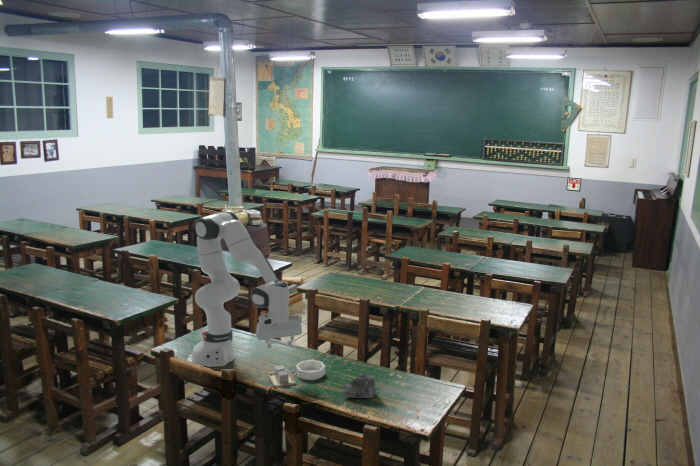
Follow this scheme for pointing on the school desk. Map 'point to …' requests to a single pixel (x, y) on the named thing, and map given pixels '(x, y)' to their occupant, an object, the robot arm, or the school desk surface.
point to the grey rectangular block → (282, 377)
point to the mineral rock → (360, 387)
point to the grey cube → (278, 369)
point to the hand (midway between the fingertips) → (279, 346)
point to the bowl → (310, 369)
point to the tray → (275, 382)
